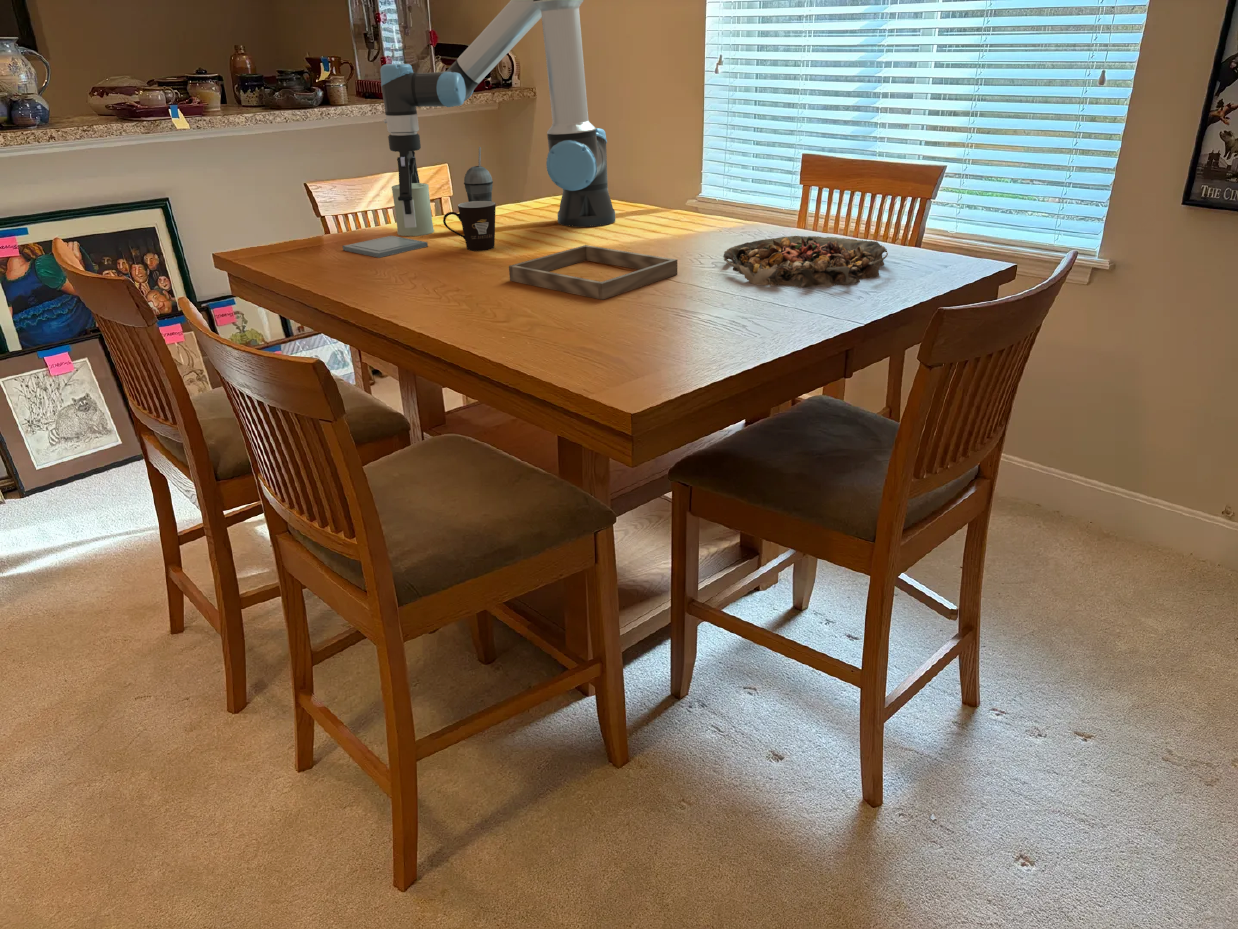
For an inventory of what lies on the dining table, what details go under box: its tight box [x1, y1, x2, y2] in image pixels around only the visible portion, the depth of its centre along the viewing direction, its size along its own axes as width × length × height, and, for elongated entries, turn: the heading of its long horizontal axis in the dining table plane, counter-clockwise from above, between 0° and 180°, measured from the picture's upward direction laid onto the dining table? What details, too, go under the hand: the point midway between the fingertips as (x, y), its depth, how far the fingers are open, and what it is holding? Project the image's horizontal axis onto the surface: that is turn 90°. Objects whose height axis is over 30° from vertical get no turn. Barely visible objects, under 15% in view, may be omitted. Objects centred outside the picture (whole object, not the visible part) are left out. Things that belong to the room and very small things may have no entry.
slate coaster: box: [342, 235, 428, 259], centre depth 213 cm, size 14×14×1 cm
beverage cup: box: [463, 146, 494, 202], centre depth 226 cm, size 7×7×20 cm
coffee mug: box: [442, 201, 496, 252], centre depth 208 cm, size 12×9×10 cm
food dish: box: [723, 235, 889, 289], centre depth 184 cm, size 35×33×8 cm
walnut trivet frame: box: [508, 244, 678, 300], centre depth 182 cm, size 25×23×3 cm
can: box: [391, 182, 435, 237], centre depth 227 cm, size 9×9×12 cm
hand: (414, 222), depth 228 cm, fingers open, 13 cm apart
